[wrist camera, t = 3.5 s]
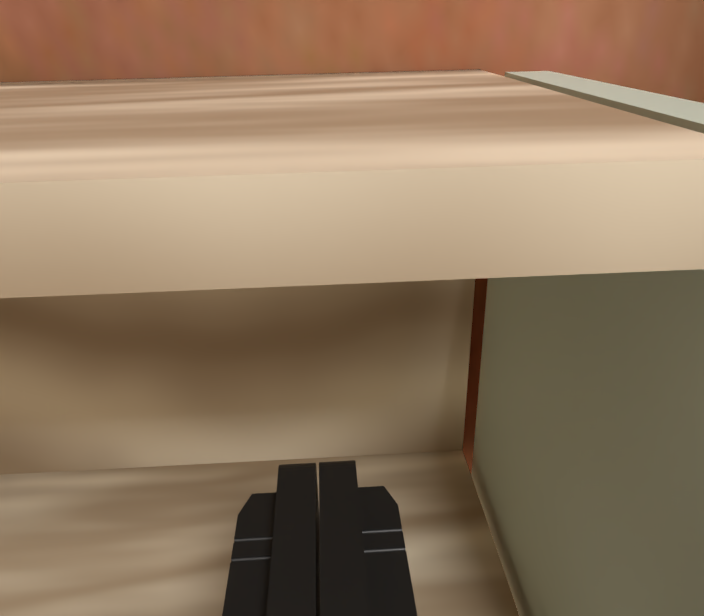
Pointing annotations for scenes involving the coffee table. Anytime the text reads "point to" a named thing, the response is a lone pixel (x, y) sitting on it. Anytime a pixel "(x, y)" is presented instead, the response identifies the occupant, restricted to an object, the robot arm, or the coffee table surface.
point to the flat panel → (596, 422)
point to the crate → (282, 307)
